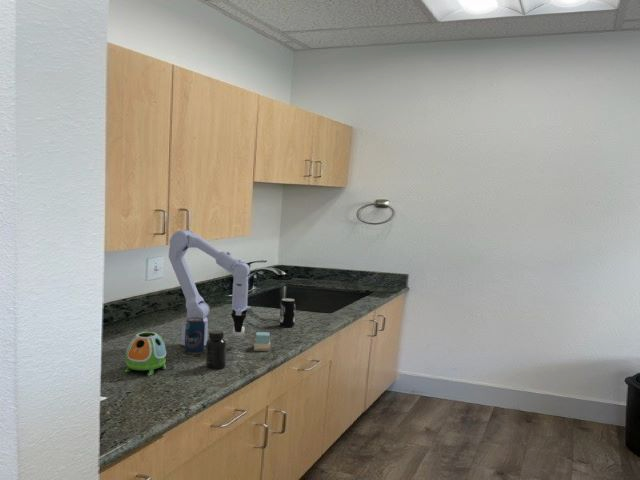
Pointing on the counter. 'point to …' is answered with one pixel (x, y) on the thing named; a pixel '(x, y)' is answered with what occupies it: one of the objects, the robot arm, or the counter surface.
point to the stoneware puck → (238, 332)
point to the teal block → (262, 337)
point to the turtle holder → (146, 353)
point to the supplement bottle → (216, 350)
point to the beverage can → (287, 312)
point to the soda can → (194, 335)
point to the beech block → (261, 346)
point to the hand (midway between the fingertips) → (238, 330)
